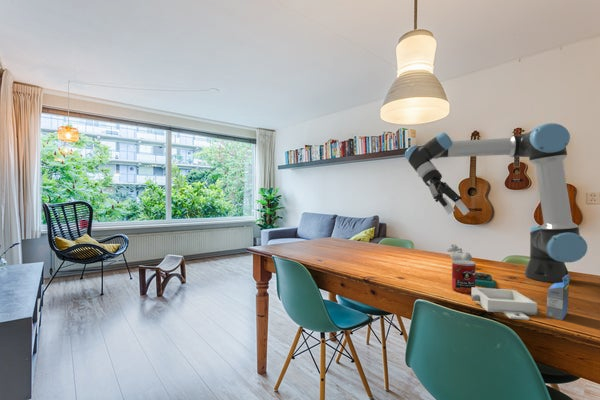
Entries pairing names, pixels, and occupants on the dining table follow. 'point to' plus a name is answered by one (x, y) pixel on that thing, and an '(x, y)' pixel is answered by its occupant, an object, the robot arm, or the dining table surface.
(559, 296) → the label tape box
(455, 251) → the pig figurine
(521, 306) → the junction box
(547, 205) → the robot arm
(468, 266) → the canned food
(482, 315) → the dining table surface
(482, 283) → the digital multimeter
